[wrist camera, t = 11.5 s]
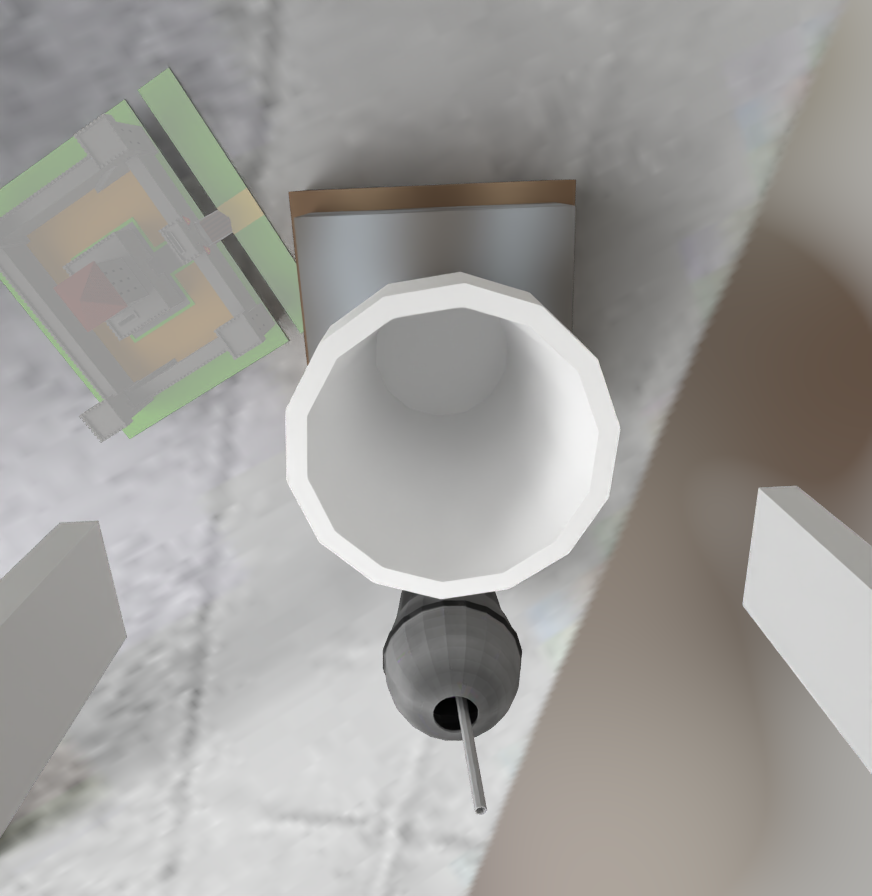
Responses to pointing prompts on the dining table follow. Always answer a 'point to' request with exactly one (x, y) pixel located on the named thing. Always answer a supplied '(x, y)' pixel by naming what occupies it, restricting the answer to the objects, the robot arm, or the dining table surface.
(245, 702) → the dining table surface
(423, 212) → the block tower
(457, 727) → the beverage cup
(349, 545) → the foam cup
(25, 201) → the castle model
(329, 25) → the dining table surface
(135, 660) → the dining table surface
